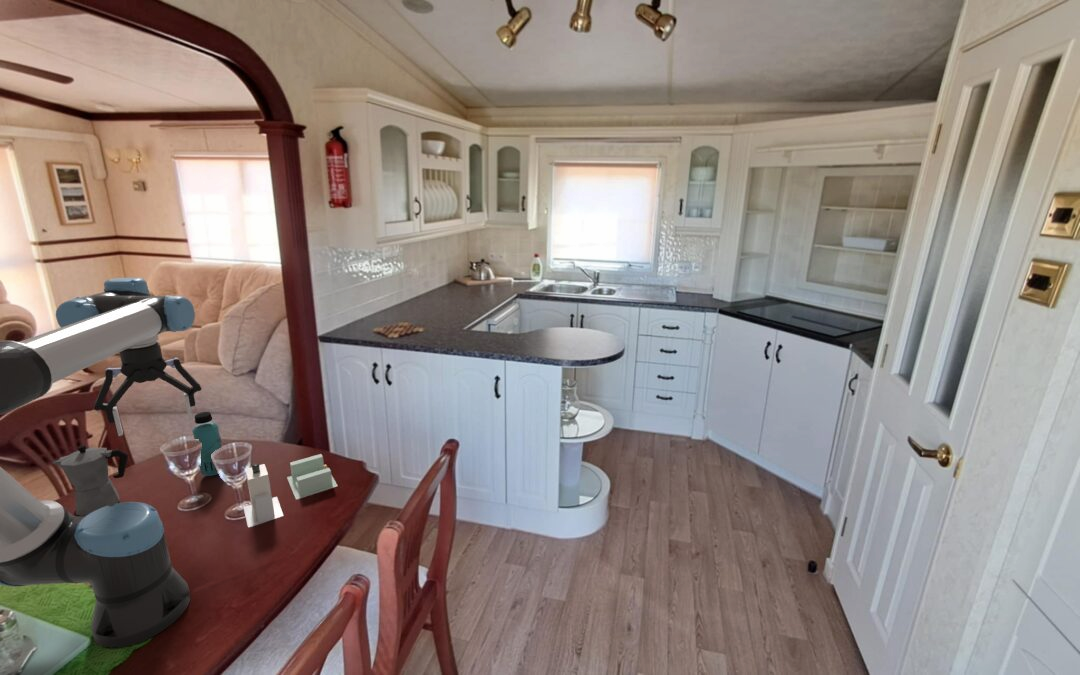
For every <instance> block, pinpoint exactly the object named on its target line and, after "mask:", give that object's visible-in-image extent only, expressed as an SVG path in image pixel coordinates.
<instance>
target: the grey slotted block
mask: <svg viewBox="0 0 1080 675" xmlns="http://www.w3.org/2000/svg"><path fill="white" fill-rule="evenodd" d="M254 499H255V505H256V511H257V516H258V520H256V521H255V518H254V514H253V510H252V505H251V504H249V505H245V506H243V512H244V515H245V521H246V525H247V527H248V528H249V529H250V528H252V527H255V526H258V525H261V524H264V523H266V522H270V521H272V520H275V519H279V518H282V517H284V513H283V511H282V507H281V504H280V501H279V498H278V496H274V497H272V501H273V508H274V515H273V514H272V508H271V502H270V496H269V493H267V494H264V495H260V496H257V497H254Z"/></svg>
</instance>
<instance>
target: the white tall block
mask: <svg viewBox="0 0 1080 675" xmlns="http://www.w3.org/2000/svg"><path fill="white" fill-rule="evenodd" d="M244 471H245V477H246V482H247V488H248V492H249V494H248V495H249V499H250V505H252V510H253V514H254V518H255V521H256V520H258V516H257V511H256V505H255V499H254V497H257V496H260V495H264V494H267V493H269V496H270V502H271V508H272V514H273V515H274V508H273V501H272V498H273V497H272V491H271V490H272V489H271V484H270V477H269V473H268V470H267V467H266V464H265V463H262V464H260V463H258V462H256V463H253V464H251V467H248V468H245V469H244Z"/></svg>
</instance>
